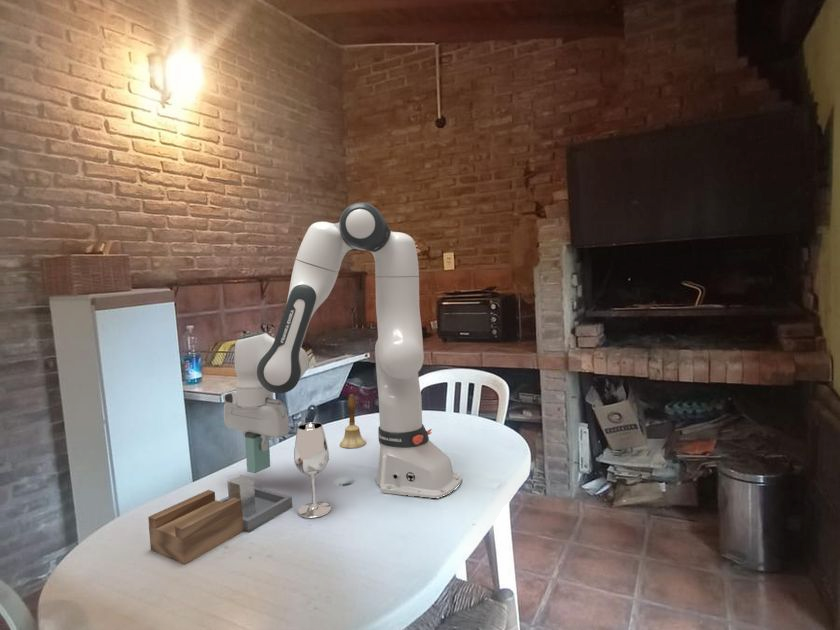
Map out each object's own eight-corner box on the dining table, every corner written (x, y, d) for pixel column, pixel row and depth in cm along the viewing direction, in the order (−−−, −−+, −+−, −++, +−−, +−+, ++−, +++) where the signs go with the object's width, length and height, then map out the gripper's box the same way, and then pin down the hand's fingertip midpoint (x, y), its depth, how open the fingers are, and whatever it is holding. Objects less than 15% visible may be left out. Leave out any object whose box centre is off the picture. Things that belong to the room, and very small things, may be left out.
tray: (292, 506, 120) (291, 496, 120) (248, 532, 109) (247, 521, 109) (251, 495, 127) (250, 485, 127) (205, 518, 116) (205, 507, 116)
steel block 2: (241, 519, 114) (255, 511, 117) (240, 502, 113) (254, 495, 117) (229, 515, 116) (243, 508, 119) (228, 498, 116) (242, 491, 119)
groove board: (243, 530, 110) (241, 499, 109) (185, 564, 98) (182, 529, 97) (210, 519, 116) (208, 489, 115) (150, 549, 104) (147, 516, 103)
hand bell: (352, 438, 168) (350, 390, 167) (371, 442, 164) (369, 393, 162) (334, 445, 162) (331, 396, 160) (353, 450, 157) (351, 399, 155)
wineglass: (302, 522, 113) (297, 433, 111) (293, 508, 120) (288, 424, 118) (336, 513, 117) (331, 427, 115) (326, 500, 123) (321, 419, 122)
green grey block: (262, 464, 135) (260, 427, 134) (270, 466, 134) (268, 429, 133) (246, 471, 131) (244, 433, 130) (255, 473, 129) (253, 434, 128)
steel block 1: (254, 494, 117) (253, 477, 117) (240, 502, 114) (239, 484, 113) (242, 491, 119) (241, 474, 119) (228, 498, 116) (227, 481, 115)
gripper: (293, 397, 128) (296, 451, 129) (237, 389, 138) (240, 439, 140) (274, 403, 123) (277, 459, 124) (218, 394, 133) (221, 446, 134)
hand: (257, 448), depth 132 cm, fingers closed on green grey block, 3 cm apart
